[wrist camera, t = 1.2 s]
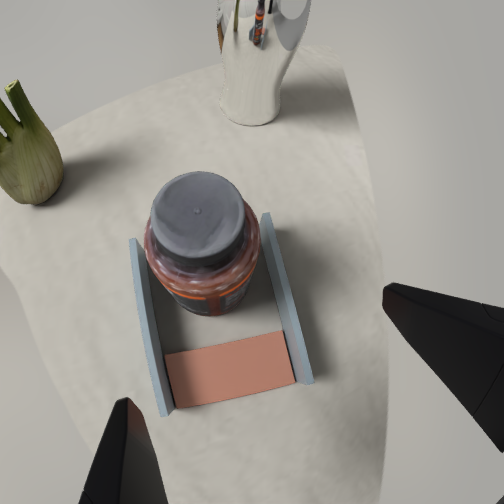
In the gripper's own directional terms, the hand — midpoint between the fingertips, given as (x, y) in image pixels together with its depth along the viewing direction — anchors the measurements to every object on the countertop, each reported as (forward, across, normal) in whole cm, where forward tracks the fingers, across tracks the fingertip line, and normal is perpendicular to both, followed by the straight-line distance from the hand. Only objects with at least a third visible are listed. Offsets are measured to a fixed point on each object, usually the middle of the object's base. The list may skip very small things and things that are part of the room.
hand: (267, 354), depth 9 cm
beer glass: (+24, -10, -5) cm, 27 cm away
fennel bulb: (+24, +12, -4) cm, 27 cm away
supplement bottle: (+14, 0, +5) cm, 15 cm away
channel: (+12, 0, +7) cm, 14 cm away
